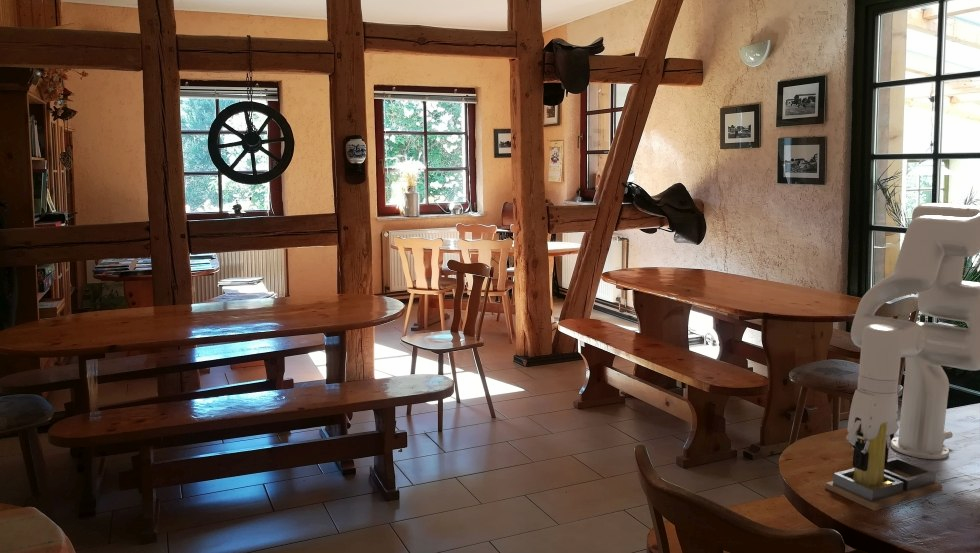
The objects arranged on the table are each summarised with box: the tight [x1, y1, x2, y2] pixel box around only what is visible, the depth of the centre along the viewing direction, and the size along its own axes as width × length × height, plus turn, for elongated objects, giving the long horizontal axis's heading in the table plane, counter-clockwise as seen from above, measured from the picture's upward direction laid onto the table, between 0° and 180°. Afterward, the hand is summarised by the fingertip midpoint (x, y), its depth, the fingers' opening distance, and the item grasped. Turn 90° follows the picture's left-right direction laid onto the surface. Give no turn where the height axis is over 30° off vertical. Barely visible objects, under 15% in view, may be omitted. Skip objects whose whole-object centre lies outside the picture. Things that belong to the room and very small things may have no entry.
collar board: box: [825, 470, 943, 512], centre depth 174 cm, size 22×12×1 cm, turn 118°
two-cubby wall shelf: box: [832, 456, 937, 502], centre depth 174 cm, size 21×10×3 cm, turn 118°
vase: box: [852, 422, 887, 488], centre depth 170 cm, size 6×6×14 cm
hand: (869, 465), depth 171 cm, fingers closed on vase, 5 cm apart
